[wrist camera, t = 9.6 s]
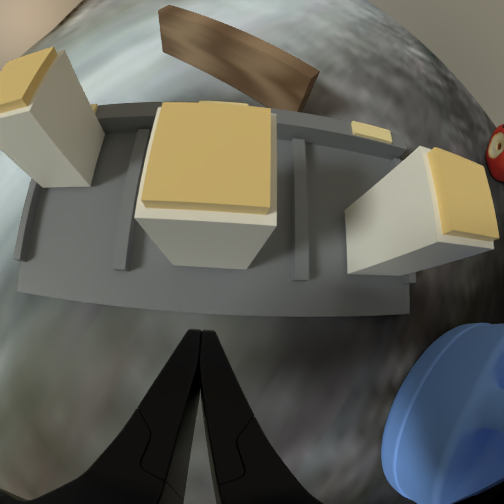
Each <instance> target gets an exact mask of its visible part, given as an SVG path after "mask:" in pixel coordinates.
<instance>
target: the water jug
mask: <svg viewBox="0 0 504 504" xmlns="http://www.w3.org/2000/svg"><path fill="white" fill-rule="evenodd" d="M381 460H382V467H383V471H384V474H385V476H386V478H387V480H388V482H389V483H390V484H391V486H392V487H393V488H394V489H395V490H396V491H397V492H399V493H400V494H401V495H402V496H404V497H406V498H408V499H411V500H413V501H415V502H416V503H417V504H451V503H453V502H455V501H457V500H459V499H462V498H464V497H466V496H468V495H471V494H473V493H475V492H477V491H479V490H481V489H483V488H485V487H487V486H489V485H491V484H493V483H495V482H497V481H498V480H500V479H502V478H504V323H503V324H490V323H470V324H464V325H460V326H457V327H455V328H453V329H451V330H449V331H447V332H446V333H444V334H443V335H442V336H440V337H439V338H438V339H437V340H435V341H434V342H433V343H432V344H431V345H430V346H429V347H428V348H427V349H426V350H425V352H424V353H423V354H422V355H421V356H420V357H419V359H418V360H417V361H416V363H415V364H414V366H413V367H412V368H411V370H410V371H409V373H408V375H407V376H406V378H405V380H404V381H403V383H402V385H401V387H400V389H399V391H398V393H397V395H396V397H395V399H394V402H393V404H392V406H391V409H390V412H389V415H388V418H387V421H386V424H385V428H384V433H383V438H382V447H381Z"/></svg>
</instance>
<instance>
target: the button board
mask: <svg viewBox="0 0 504 504" xmlns="http://www.w3.org/2000/svg"><path fill="white" fill-rule="evenodd" d="M162 103H163V102H142V103H123V104H110V105H99V106H98V105H97V104H92V105H91V107H92V109H93V111H94V113H95V115H96V117H97V119H98V121H99V123H100V125H101V127H102V129H103V131H104V133H105V136H104V139H103V143H102V146H101V149H100V153H99V156H98V160H97V163H96V167H95V171H94V174H93V178H92V182H91V186H90V187H50V188H43V187H42V186H40V185H39V184H38V183H37V182H36V181H35V180H34V179H31V182H30V185H29V189H28V192H27V196H26V200H25V204H24V208H23V212H22V217H21V221H20V226H19V231H18V236H17V242H16V247H15V254H14V259H15V260H18V261H20V267H19V276H18V286H17V291H18V292H23V293H29V294H34V295H40V296H46V297H53V298H59V299H66V300H73V301H80V302H87V303H95V304H103V305H111V306H120V307H130V308H139V309H150V310H161V311H174V312H187V313H203V314H221V315H243V316H280V317H340V316H376V315H398V314H410V291H409V284H412V283H416V272H413V273H409V274H405V275H401V276H390V275H359V274H347V244H346V224H345V210H346V209H347V208H348V207H349V206H350V205H352V204H353V203H354V202H355V201H356V200H358V199H359V198H360V197H361V196H362V195H363V194H365V193H366V192H367V191H368V190H369V189H371V188H372V187H373V186H374V185H375V184H376V183H378V182H379V181H380V180H381V179H382V178H384V177H385V176H386V175H387V174H388V173H389V172H391V171H392V170H393V169H394V168H395V167H396V166H398V165H399V164H400V163H401V159H397V158H399V157H400V156H401V155H402V154H403V153H404V152H405V151H406V150H407V147H406V143H405V139H404V136H401V135H398V134H394V133H391V132H390V130H386V129H383V128H379V127H375V126H372V125H368V124H364V123H360V122H355V121H352V122H348V121H343V120H339V119H334V118H329V117H324V116H318V115H313V114H307V113H301V112H295V111H288V110H281V109H274V108H271V113H272V114H276V125H277V226H276V228H275V229H274V230H273V232H272V233H271V235H270V236H269V238H268V239H267V241H266V242H265V243H264V245H263V246H262V248H261V249H260V251H259V252H258V253H257V255H256V256H255V258H254V259H253V261H252V262H251V264H250V265H249V266H248V268H247V269H246V270H245V269H227V268H210V267H193V266H177V265H172V263H171V262H170V261H169V260H168V259H167V257H166V256H165V255H164V254H163V253H162V251H161V250H160V249H159V248H158V247H157V245H156V244H155V243H154V242H153V240H152V239H151V238H150V237H149V236H148V234H147V233H146V232H145V231H144V229H143V228H142V227H141V226H140V224H139V223H138V222H137V220H136V219H135V218H134V217H135V210H136V204H137V198H138V193H139V187H140V182H141V177H142V172H143V167H144V162H145V158H146V153H147V149H148V144H149V140H150V136H151V132H152V128H153V124H154V120H155V117H156V113H157V109H158V107H162ZM192 103H216V104H231V105H243V106H248V104H246V103H234V102H220V101H199V102H192ZM254 107H257V106H254ZM263 108H266V107H263Z"/></svg>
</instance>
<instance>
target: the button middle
mask: <svg viewBox="0 0 504 504" xmlns="http://www.w3.org/2000/svg"><path fill="white" fill-rule="evenodd" d="M134 218H135V219H136V220H137V222H138V223H139V224H140V226H141V227H142V228H143V229H144V231H145V232H146V233H147V234H148V236H149V237H150V238H151V239H152V240H153V242H154V243H155V244H156V245H157V247H158V248H159V249H160V250H161V251H162V253H163V254H164V255H165V256H166V257H167V259H168V260H169V261H170V262H171V263H172V265H177V266H193V267H210V268H227V269H245V270H246V269H247V268H248V266H249V265H250V264H251V262H252V261H253V259H254V258H255V256H256V255H257V253H258V252H259V251H260V249H261V248H262V246H263V245H264V243H265V242H266V241H267V239H268V238H269V236H270V235H271V233H272V232H273V230H274V229H275V228H276V226H277V125H276V114H272V113H271V108H263V107H254V106H243V105H231V104H216V103H192V102H163V103H162V107H158V109H157V113H156V117H155V120H154V124H153V128H152V132H151V136H150V140H149V144H148V149H147V153H146V158H145V162H144V167H143V172H142V177H141V182H140V187H139V193H138V198H137V204H136V210H135V217H134Z"/></svg>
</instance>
